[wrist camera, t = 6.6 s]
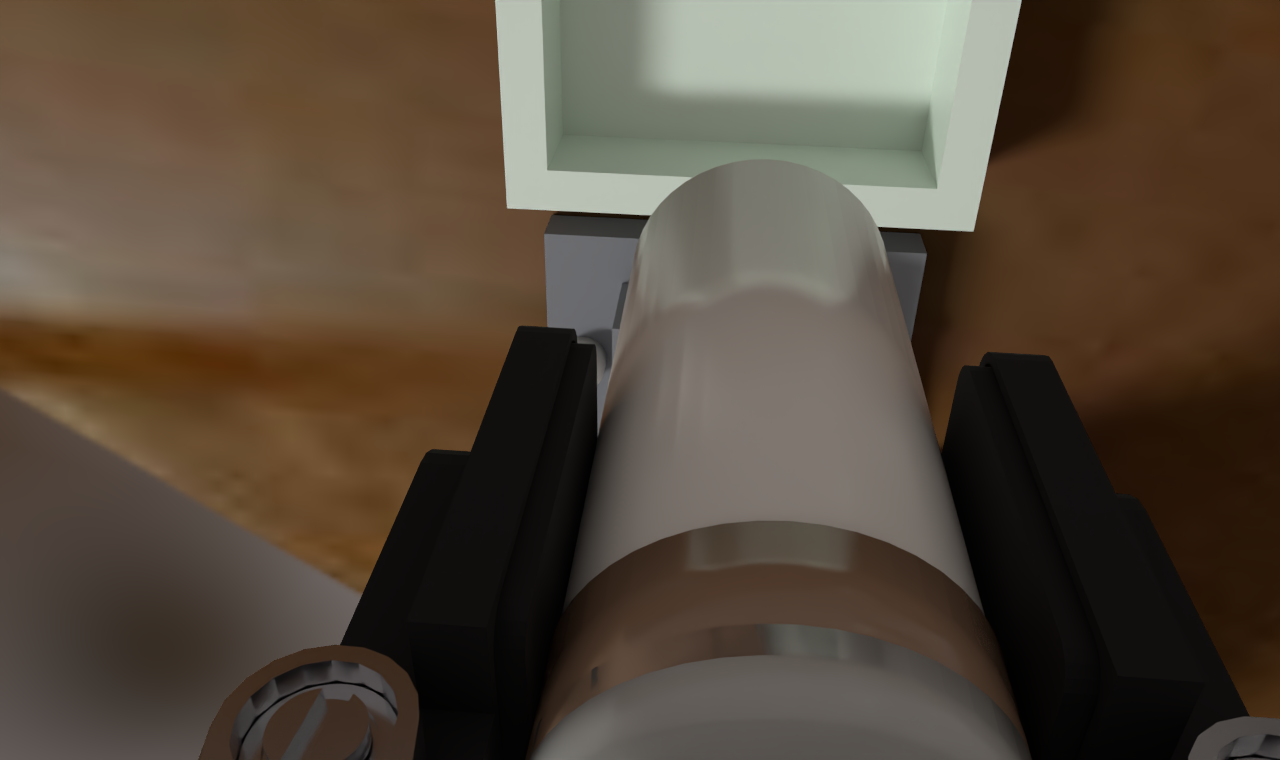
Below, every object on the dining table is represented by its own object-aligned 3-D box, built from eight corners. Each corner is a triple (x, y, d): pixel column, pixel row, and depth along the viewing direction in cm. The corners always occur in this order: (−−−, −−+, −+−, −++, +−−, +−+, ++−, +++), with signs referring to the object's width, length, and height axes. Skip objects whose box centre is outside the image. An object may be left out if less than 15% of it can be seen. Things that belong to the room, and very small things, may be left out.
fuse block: (919, 233, 33) (942, 298, 29) (880, 457, 38) (895, 538, 34) (551, 214, 34) (527, 276, 30) (558, 436, 39) (538, 513, 35)
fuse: (910, 161, 13) (1133, 746, 5) (872, 396, 15) (1000, 1060, 7) (629, 149, 13) (486, 695, 6) (627, 382, 15) (518, 1014, 8)
